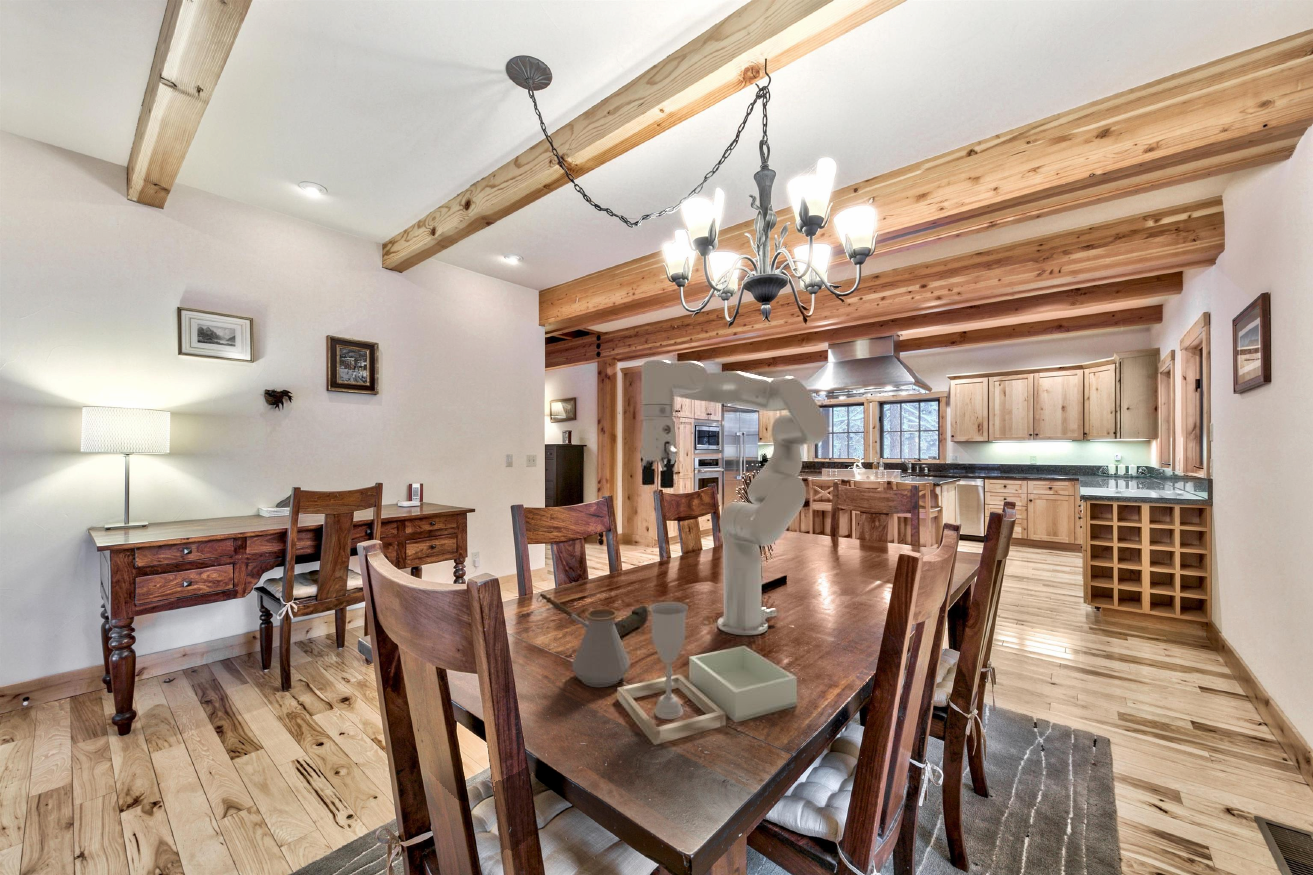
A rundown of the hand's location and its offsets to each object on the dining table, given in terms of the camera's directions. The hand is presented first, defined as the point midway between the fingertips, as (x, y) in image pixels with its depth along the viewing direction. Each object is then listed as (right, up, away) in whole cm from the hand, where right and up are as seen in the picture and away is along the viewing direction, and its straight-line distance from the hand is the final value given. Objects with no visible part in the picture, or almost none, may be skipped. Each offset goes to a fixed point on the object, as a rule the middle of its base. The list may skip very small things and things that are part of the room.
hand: (657, 486), depth 121 cm
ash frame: (+2, -36, -31) cm, 48 cm away
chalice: (+2, -37, -31) cm, 48 cm away
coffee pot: (-16, -37, -16) cm, 43 cm away
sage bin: (+16, -36, -25) cm, 47 cm away
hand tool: (-8, -37, +8) cm, 39 cm away
